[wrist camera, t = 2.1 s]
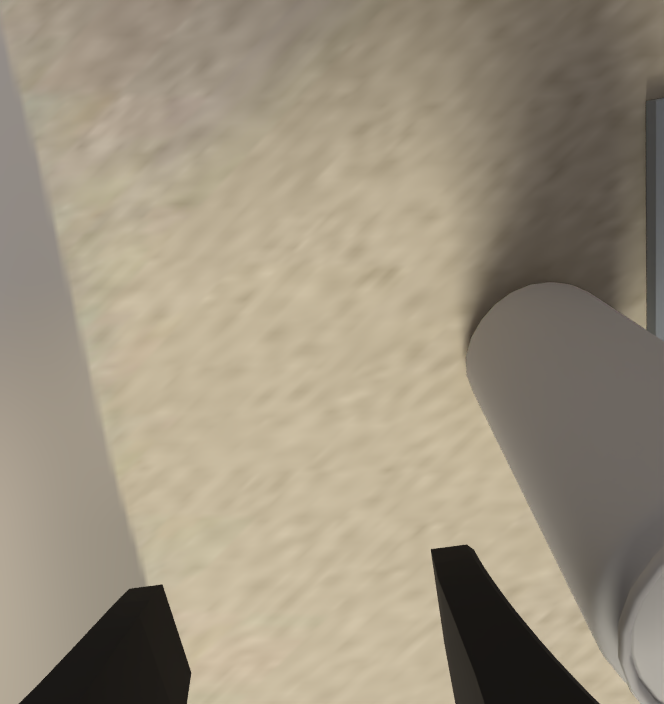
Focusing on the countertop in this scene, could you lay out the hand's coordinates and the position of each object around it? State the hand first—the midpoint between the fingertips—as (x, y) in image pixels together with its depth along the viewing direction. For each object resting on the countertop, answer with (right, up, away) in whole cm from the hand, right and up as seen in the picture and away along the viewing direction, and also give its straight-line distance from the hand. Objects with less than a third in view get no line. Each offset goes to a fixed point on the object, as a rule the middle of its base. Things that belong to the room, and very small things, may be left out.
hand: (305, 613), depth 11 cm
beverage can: (+7, +5, +9) cm, 13 cm away
